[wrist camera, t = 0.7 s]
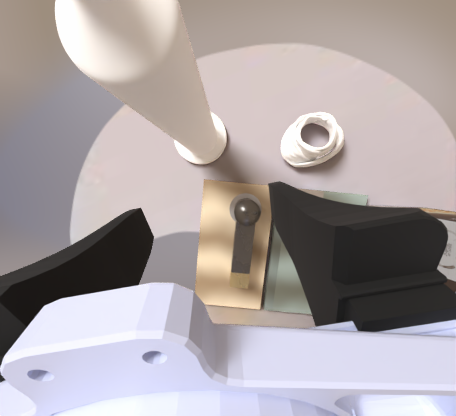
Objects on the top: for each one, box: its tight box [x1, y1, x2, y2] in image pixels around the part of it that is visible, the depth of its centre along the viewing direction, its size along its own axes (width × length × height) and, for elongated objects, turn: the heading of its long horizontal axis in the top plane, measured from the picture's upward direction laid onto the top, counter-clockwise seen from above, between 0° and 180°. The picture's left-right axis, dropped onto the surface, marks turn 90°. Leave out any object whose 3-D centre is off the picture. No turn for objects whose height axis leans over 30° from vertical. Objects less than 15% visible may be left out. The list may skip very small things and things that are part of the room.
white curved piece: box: [281, 112, 344, 167], centre depth 27 cm, size 8×7×5 cm
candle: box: [55, 0, 227, 165], centre depth 17 cm, size 7×7×25 cm
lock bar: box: [230, 198, 261, 289], centre depth 28 cm, size 12×3×3 cm, turn 174°
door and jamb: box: [195, 179, 368, 314], centre depth 29 cm, size 18×22×4 cm
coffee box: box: [368, 205, 456, 292], centre depth 22 cm, size 9×6×16 cm
